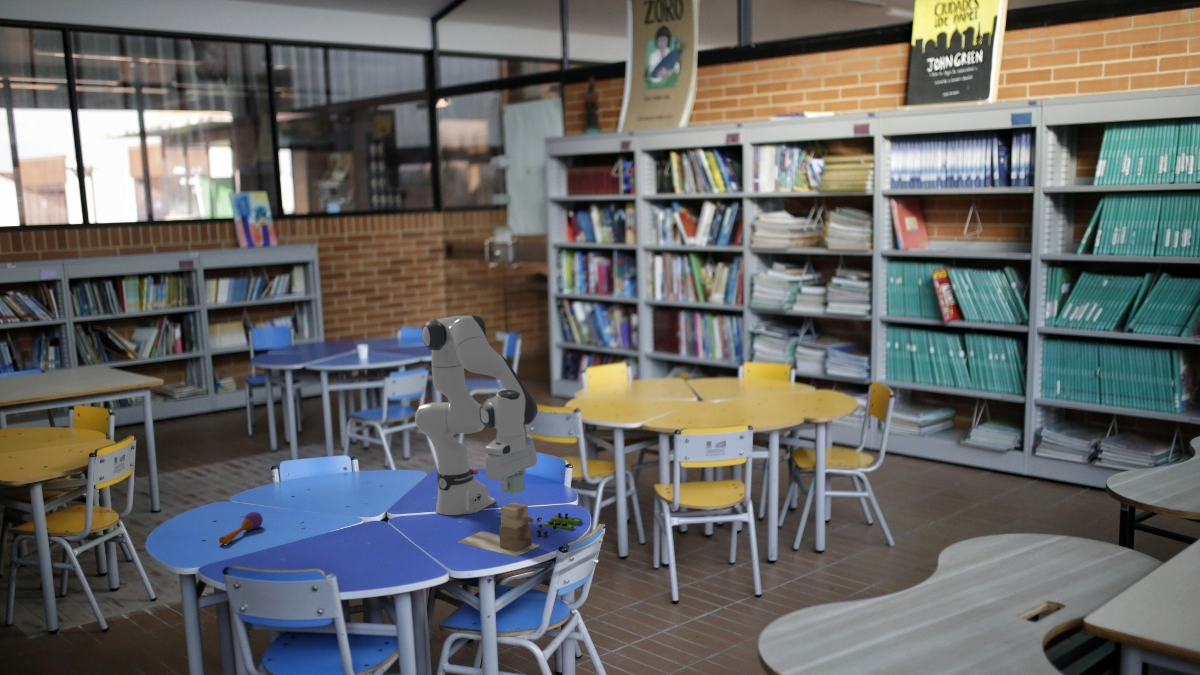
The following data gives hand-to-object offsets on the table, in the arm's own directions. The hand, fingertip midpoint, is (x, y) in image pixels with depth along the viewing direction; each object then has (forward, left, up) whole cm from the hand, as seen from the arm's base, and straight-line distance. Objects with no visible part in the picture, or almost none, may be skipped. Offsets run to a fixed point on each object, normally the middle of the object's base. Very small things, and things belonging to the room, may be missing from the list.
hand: (513, 486), depth 304 cm
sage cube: (0, 0, -1) cm, 1 cm away
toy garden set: (-19, -6, -22) cm, 30 cm away
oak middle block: (0, 0, -12) cm, 12 cm away
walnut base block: (0, 0, -20) cm, 20 cm away
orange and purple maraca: (+38, -90, -22) cm, 100 cm away
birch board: (+1, -6, -21) cm, 22 cm away
